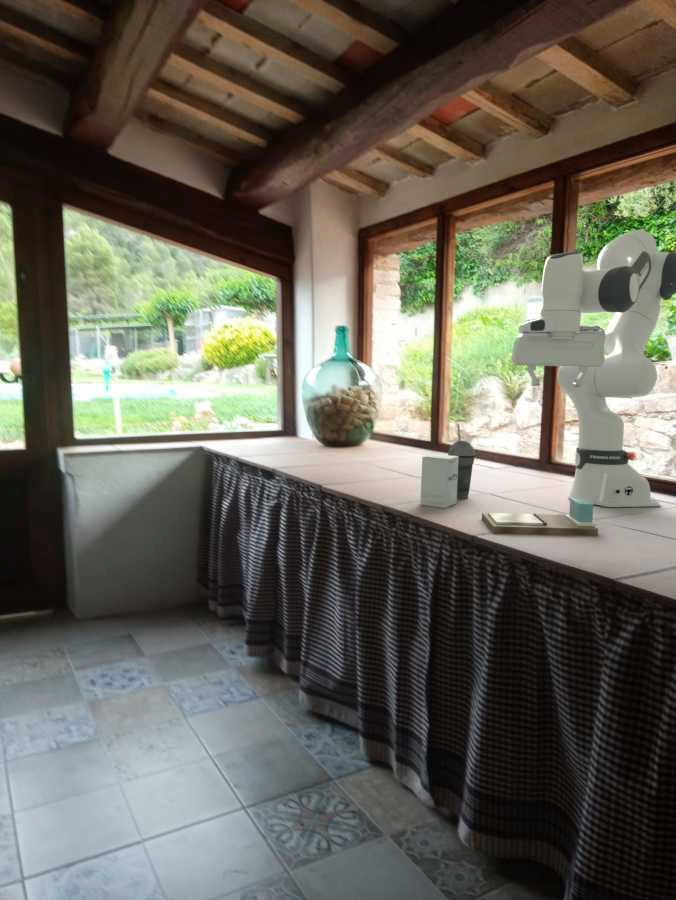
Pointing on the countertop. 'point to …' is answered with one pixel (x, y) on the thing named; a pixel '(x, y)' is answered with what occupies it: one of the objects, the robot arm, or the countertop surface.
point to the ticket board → (535, 524)
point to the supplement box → (439, 480)
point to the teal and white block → (581, 512)
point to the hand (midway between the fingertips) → (556, 386)
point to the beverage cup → (463, 465)
